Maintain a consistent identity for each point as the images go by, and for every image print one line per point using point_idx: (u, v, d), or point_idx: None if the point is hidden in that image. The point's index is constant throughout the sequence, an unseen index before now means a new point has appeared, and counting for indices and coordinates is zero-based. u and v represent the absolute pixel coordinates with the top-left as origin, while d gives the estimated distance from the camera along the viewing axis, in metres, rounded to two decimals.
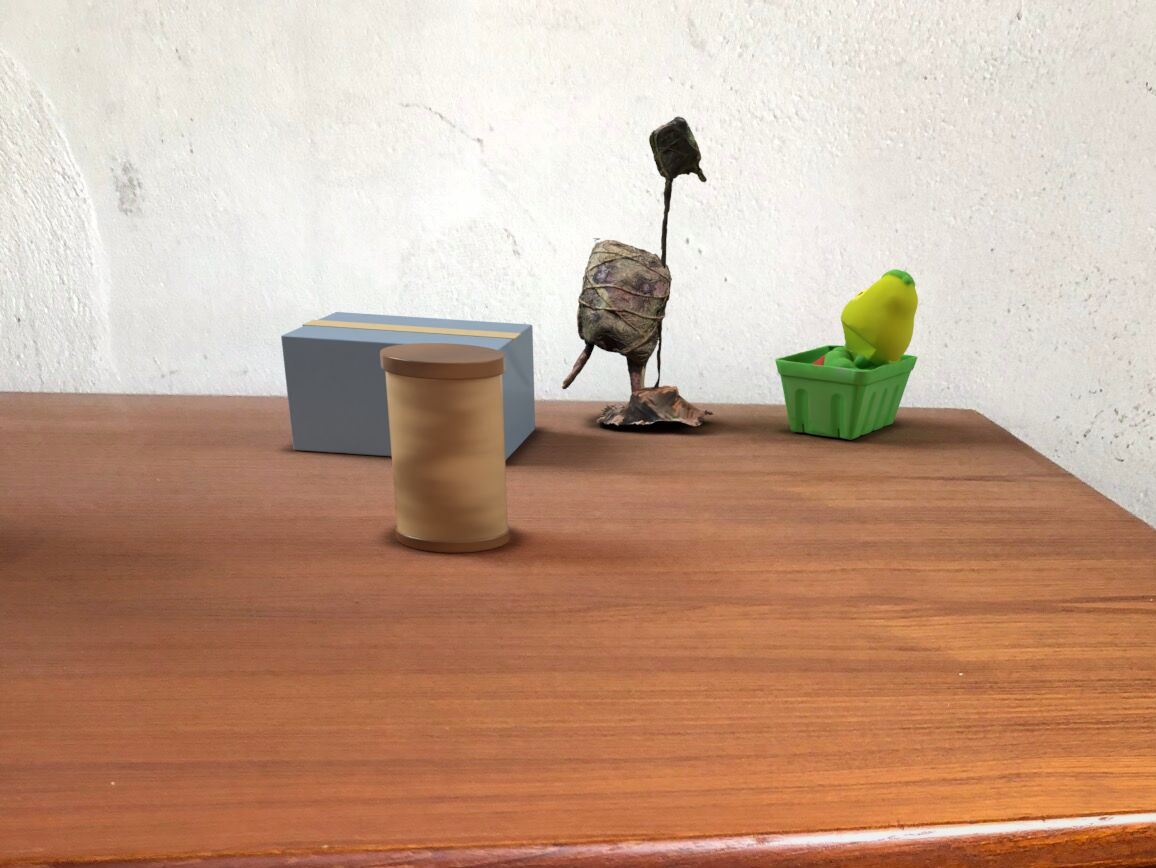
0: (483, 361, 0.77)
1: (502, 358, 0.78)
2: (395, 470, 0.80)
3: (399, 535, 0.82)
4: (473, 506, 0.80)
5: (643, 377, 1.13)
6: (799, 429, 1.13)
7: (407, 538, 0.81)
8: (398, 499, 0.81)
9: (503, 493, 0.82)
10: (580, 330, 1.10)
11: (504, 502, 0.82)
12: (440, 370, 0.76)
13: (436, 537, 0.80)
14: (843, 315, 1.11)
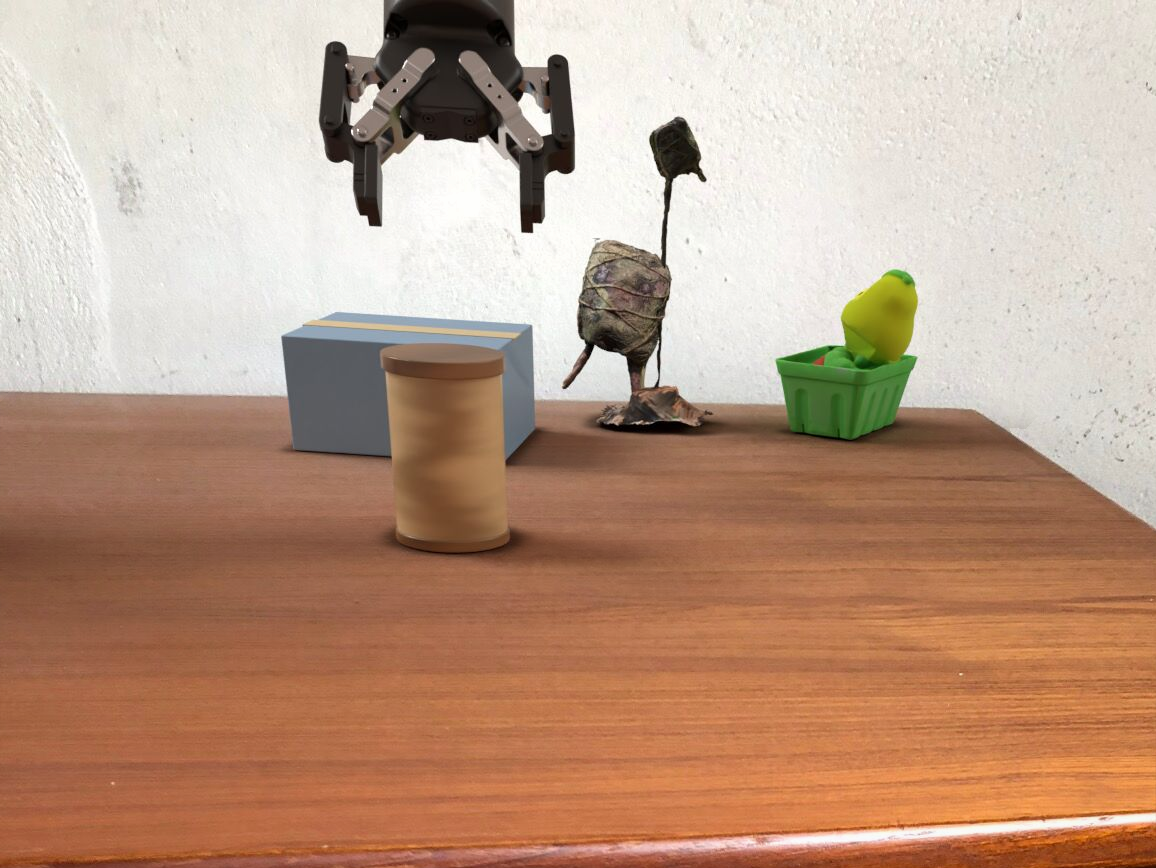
0: (483, 361, 0.77)
1: (502, 358, 0.78)
2: (395, 470, 0.80)
3: (399, 535, 0.82)
4: (473, 506, 0.80)
5: (643, 377, 1.13)
6: (799, 429, 1.13)
7: (407, 538, 0.81)
8: (398, 499, 0.81)
9: (503, 493, 0.82)
10: (580, 330, 1.10)
11: (504, 502, 0.82)
12: (440, 370, 0.76)
13: (436, 537, 0.80)
14: (843, 315, 1.11)
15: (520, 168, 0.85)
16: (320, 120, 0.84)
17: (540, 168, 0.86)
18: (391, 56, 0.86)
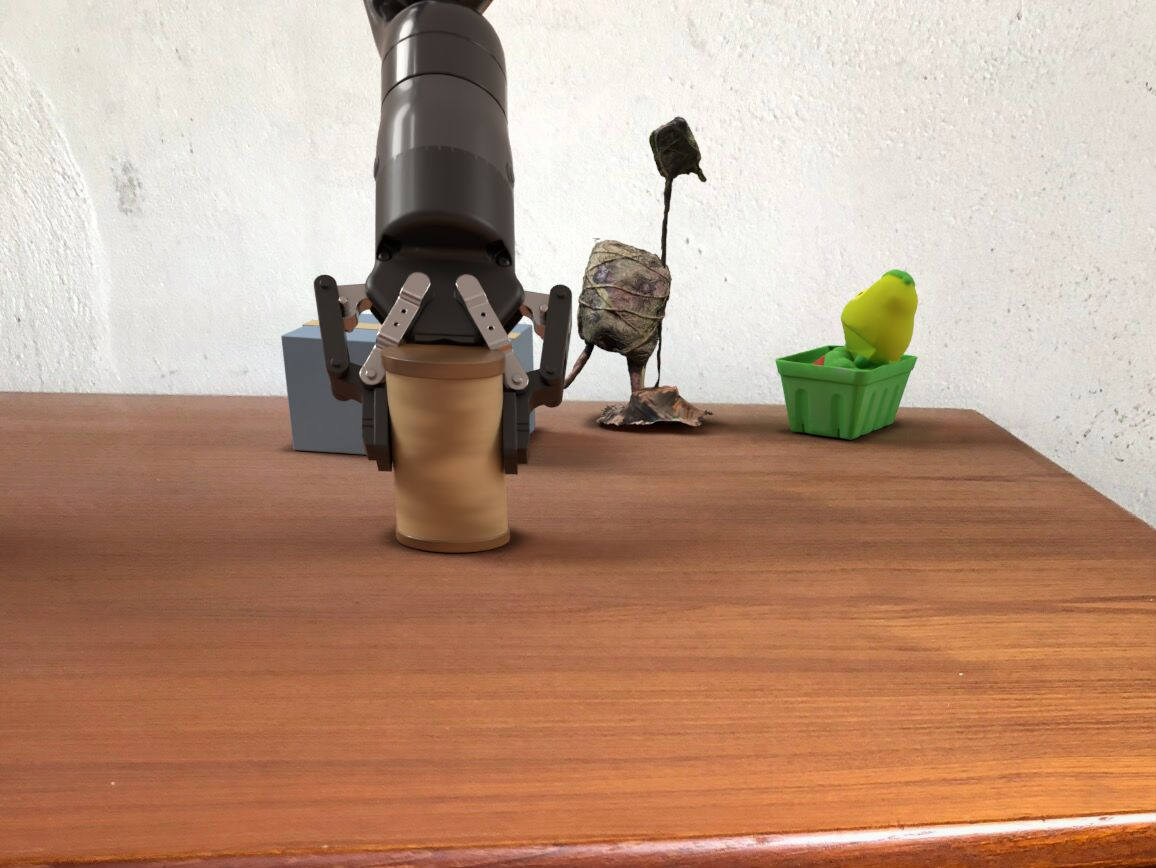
0: (483, 361, 0.77)
1: (502, 358, 0.78)
2: (395, 470, 0.80)
3: (399, 535, 0.82)
4: (473, 506, 0.80)
5: (643, 377, 1.13)
6: (799, 429, 1.13)
7: (407, 538, 0.81)
8: (399, 499, 0.81)
9: (503, 493, 0.82)
10: (580, 330, 1.10)
11: (504, 502, 0.82)
12: (440, 370, 0.76)
13: (436, 537, 0.80)
14: (843, 315, 1.11)
15: (503, 409, 0.80)
16: (327, 364, 0.79)
17: (525, 407, 0.80)
18: (383, 280, 0.80)
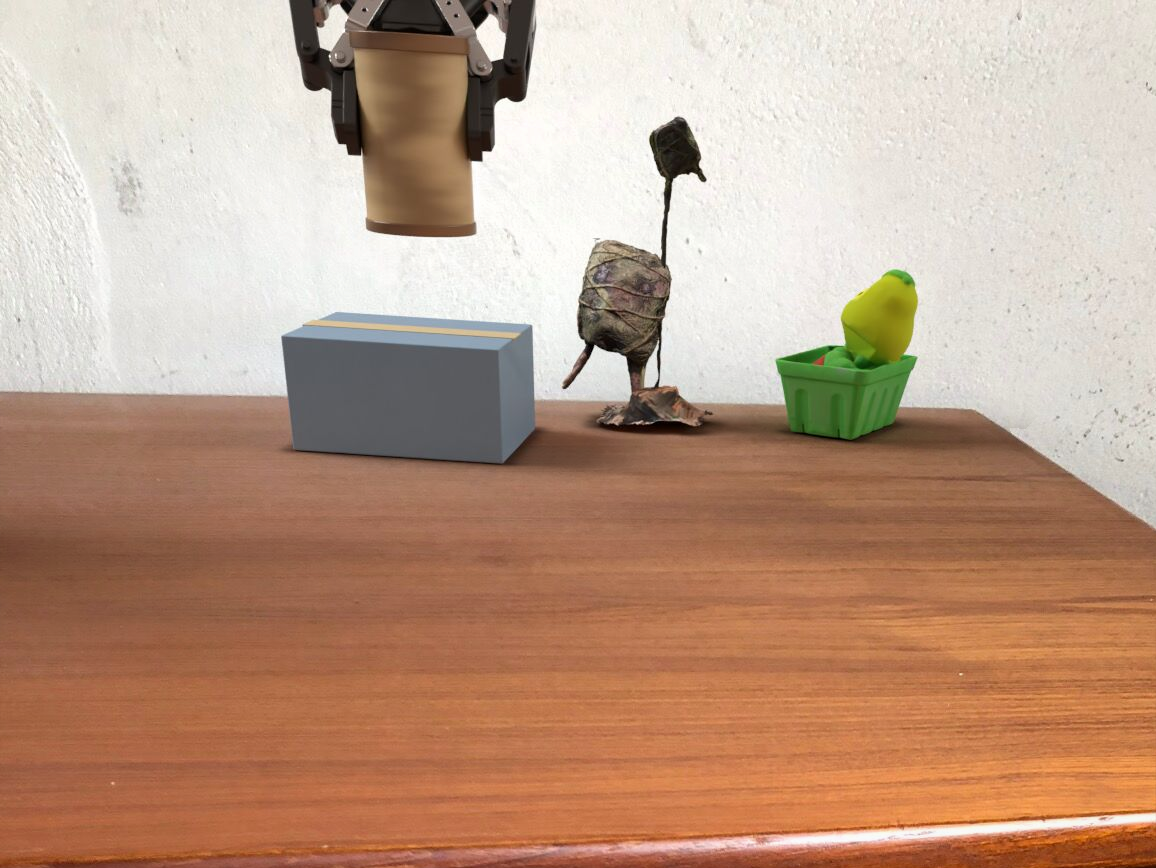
0: (447, 36, 0.80)
1: (466, 38, 0.81)
2: (364, 154, 0.83)
3: (369, 223, 0.85)
4: (440, 189, 0.83)
5: (643, 377, 1.13)
6: (799, 429, 1.13)
7: (376, 224, 0.84)
8: (368, 184, 0.84)
9: (469, 182, 0.84)
10: (580, 330, 1.10)
11: (470, 192, 0.85)
12: (406, 41, 0.79)
13: (404, 220, 0.83)
14: (843, 315, 1.11)
15: (468, 93, 0.82)
16: (297, 46, 0.82)
17: (489, 94, 0.83)
18: None
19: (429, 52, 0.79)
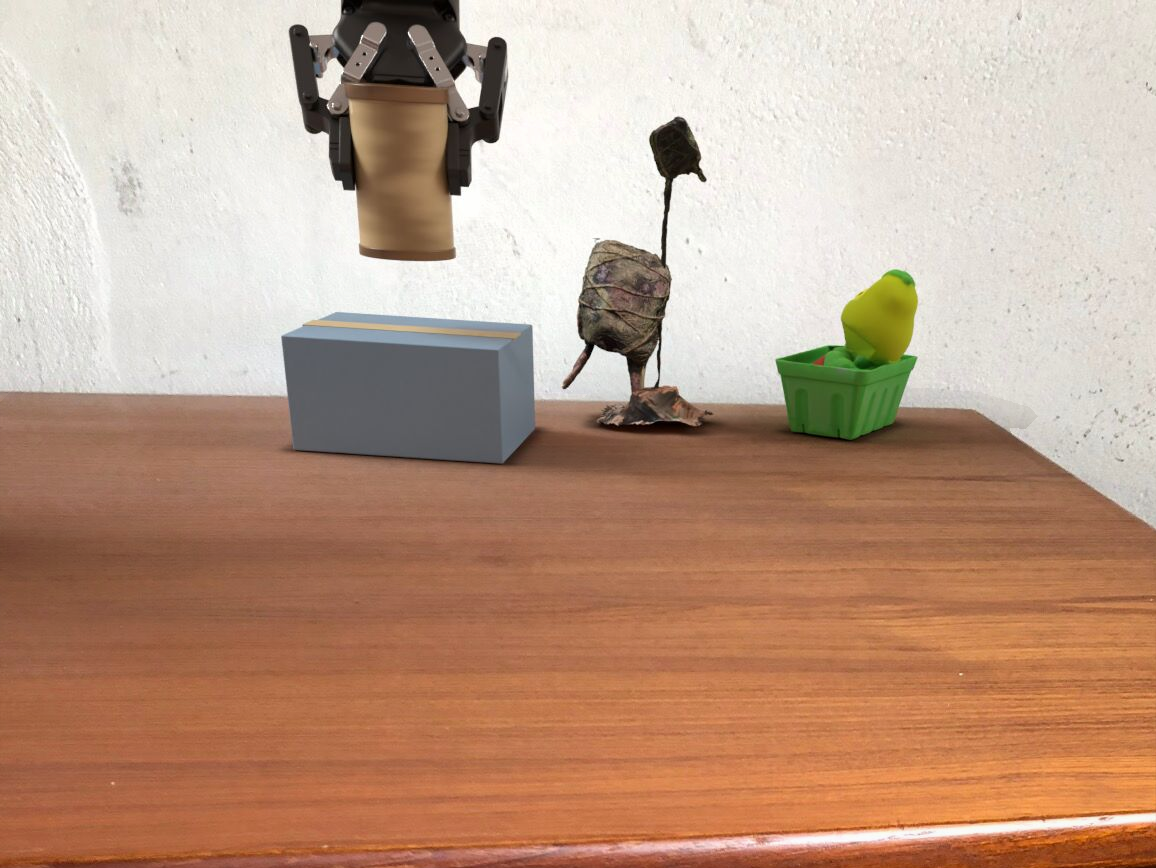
0: (430, 88, 0.92)
1: (446, 89, 0.93)
2: (357, 189, 0.95)
3: (361, 248, 0.97)
4: (423, 219, 0.95)
5: (643, 377, 1.13)
6: (799, 429, 1.13)
7: (368, 249, 0.96)
8: (361, 215, 0.96)
9: (449, 213, 0.97)
10: (580, 330, 1.10)
11: (450, 221, 0.97)
12: (393, 93, 0.91)
13: (392, 246, 0.96)
14: (843, 315, 1.11)
15: (448, 137, 0.95)
16: (299, 96, 0.94)
17: (466, 137, 0.95)
18: (347, 30, 0.96)
19: (414, 102, 0.92)
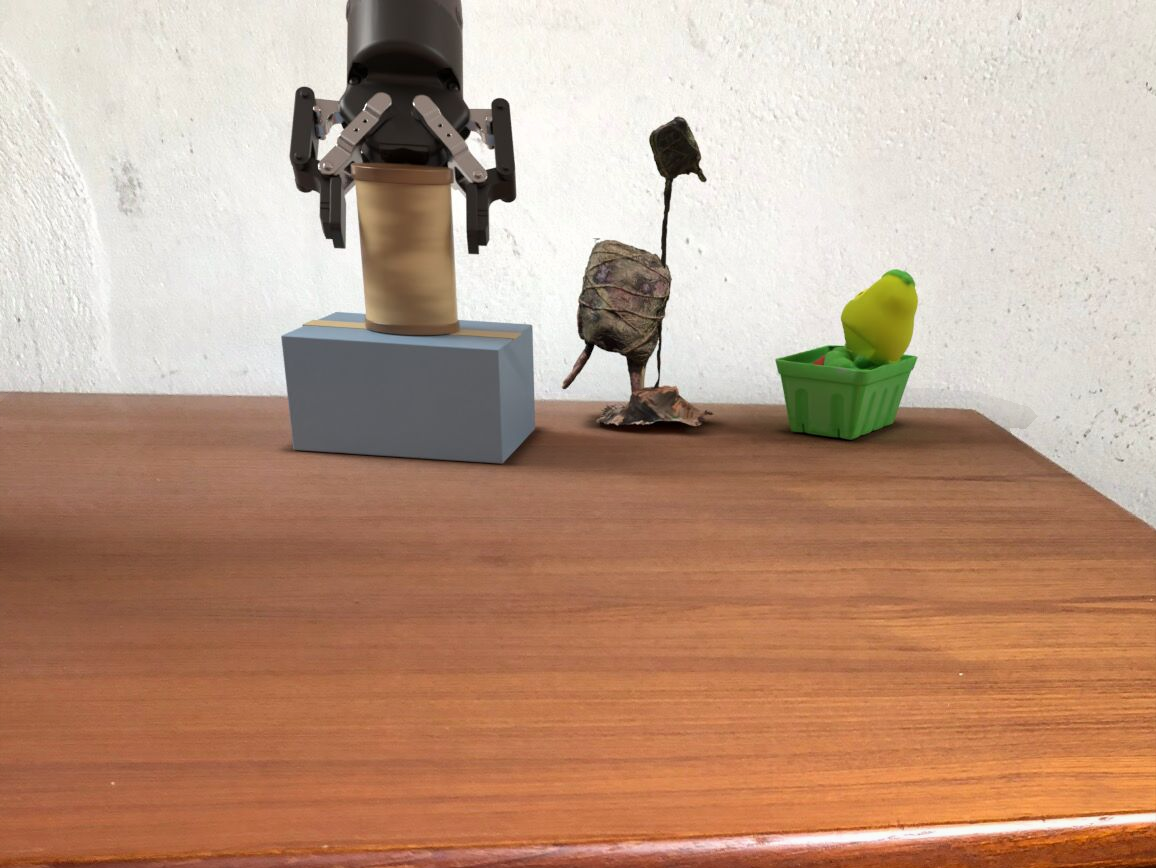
0: (434, 170, 0.94)
1: (450, 170, 0.96)
2: (364, 266, 0.98)
3: (367, 322, 0.99)
4: (428, 295, 0.98)
5: (643, 377, 1.13)
6: (799, 429, 1.13)
7: (374, 324, 0.99)
8: (367, 291, 0.98)
9: (453, 288, 0.99)
10: (580, 330, 1.10)
11: (454, 296, 1.00)
12: (399, 175, 0.93)
13: (397, 321, 0.98)
14: (843, 315, 1.11)
15: (467, 197, 0.97)
16: (291, 155, 0.96)
17: (484, 197, 0.98)
18: (353, 99, 0.98)
19: (419, 184, 0.94)
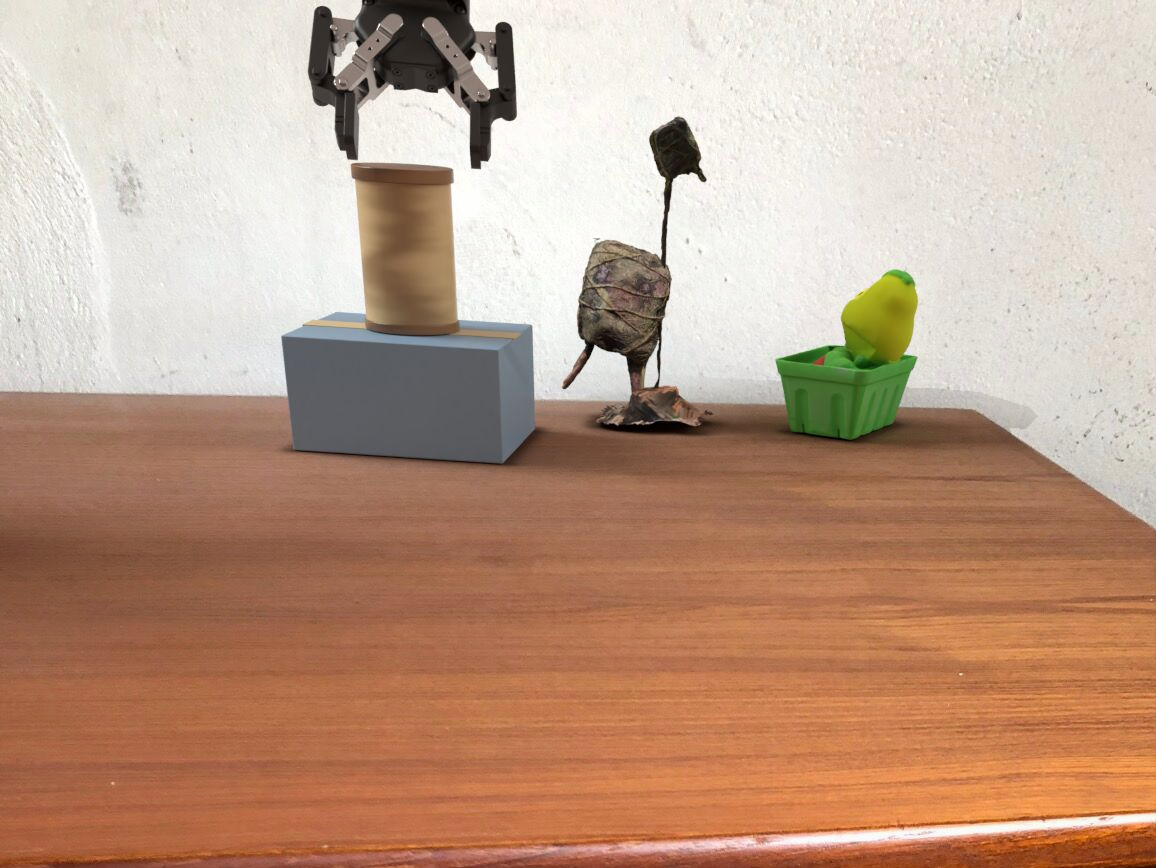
0: (434, 170, 0.94)
1: (450, 170, 0.96)
2: (364, 266, 0.98)
3: (367, 322, 0.99)
4: (428, 295, 0.98)
5: (643, 377, 1.13)
6: (799, 429, 1.13)
7: (374, 324, 0.99)
8: (367, 291, 0.98)
9: (453, 288, 0.99)
10: (580, 330, 1.10)
11: (454, 296, 1.00)
12: (399, 175, 0.93)
13: (397, 321, 0.98)
14: (843, 315, 1.11)
15: (470, 115, 1.05)
16: (309, 71, 1.04)
17: (487, 116, 1.06)
18: (367, 19, 1.05)
19: (419, 184, 0.94)
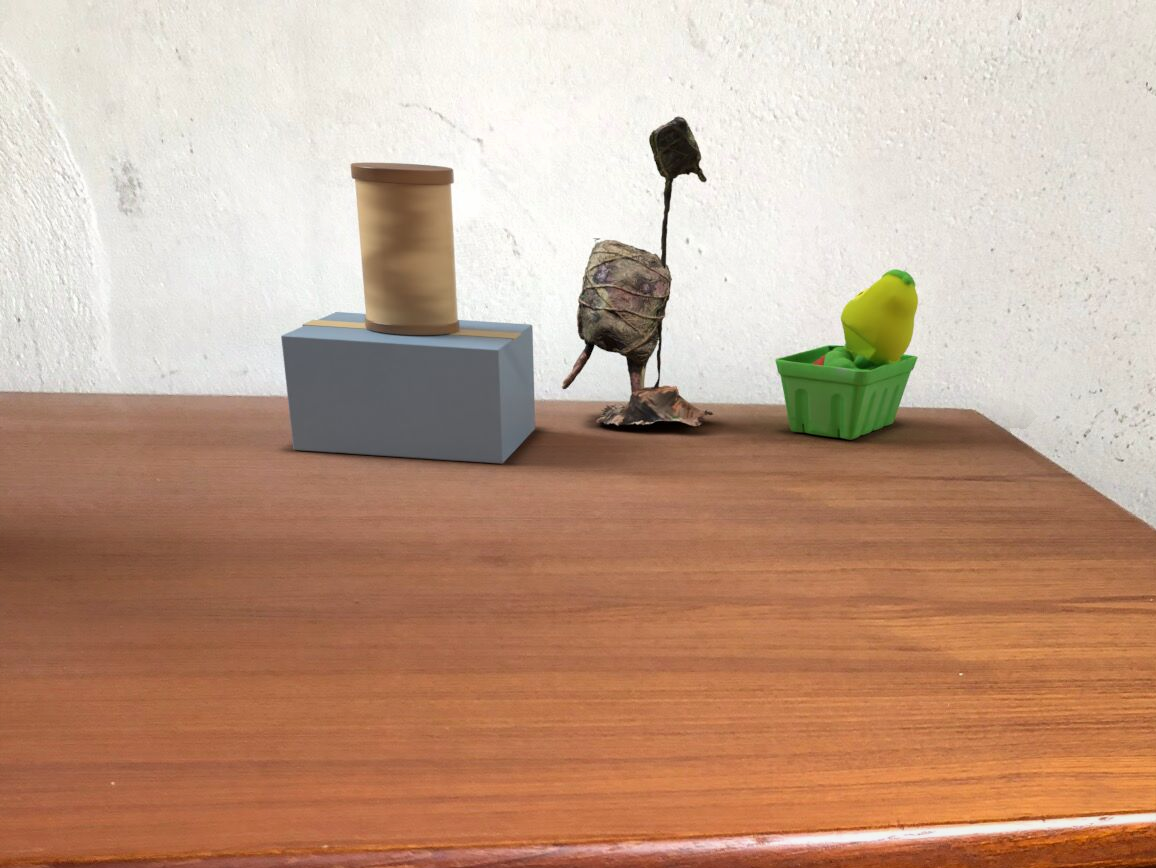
0: (434, 170, 0.94)
1: (450, 170, 0.96)
2: (364, 266, 0.98)
3: (367, 322, 0.99)
4: (428, 295, 0.98)
5: (643, 377, 1.13)
6: (799, 429, 1.13)
7: (374, 324, 0.99)
8: (367, 291, 0.98)
9: (453, 288, 0.99)
10: (580, 330, 1.10)
11: (454, 296, 1.00)
12: (399, 175, 0.93)
13: (397, 321, 0.98)
14: (843, 315, 1.11)
15: None
16: None
17: None
18: None
19: (419, 184, 0.94)
